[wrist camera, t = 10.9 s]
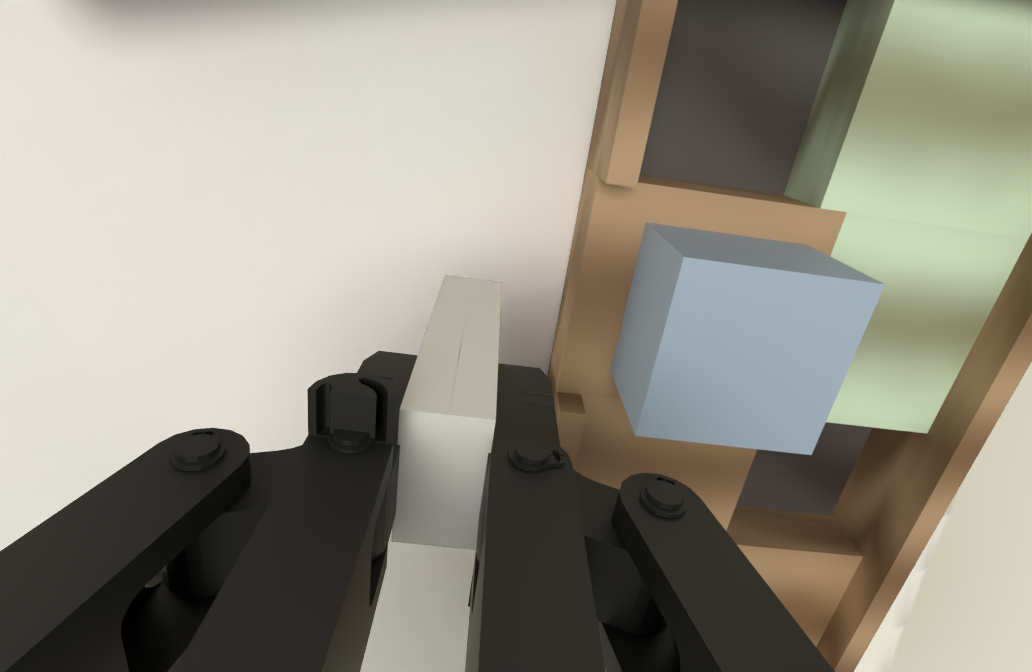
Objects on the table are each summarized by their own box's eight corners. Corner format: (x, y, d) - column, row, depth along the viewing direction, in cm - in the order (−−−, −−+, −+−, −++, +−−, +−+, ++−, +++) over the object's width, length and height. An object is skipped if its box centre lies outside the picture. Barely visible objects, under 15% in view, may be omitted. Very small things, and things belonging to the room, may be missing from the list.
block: (755, 388, 22) (811, 454, 18) (610, 371, 22) (635, 435, 18) (807, 244, 20) (885, 284, 16) (645, 222, 20) (683, 257, 15)
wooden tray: (787, 638, 33) (827, 716, 29) (503, 615, 32) (503, 694, 28) (1095, 2, 20) (1250, -21, 16) (631, -81, 18) (668, -130, 14)
